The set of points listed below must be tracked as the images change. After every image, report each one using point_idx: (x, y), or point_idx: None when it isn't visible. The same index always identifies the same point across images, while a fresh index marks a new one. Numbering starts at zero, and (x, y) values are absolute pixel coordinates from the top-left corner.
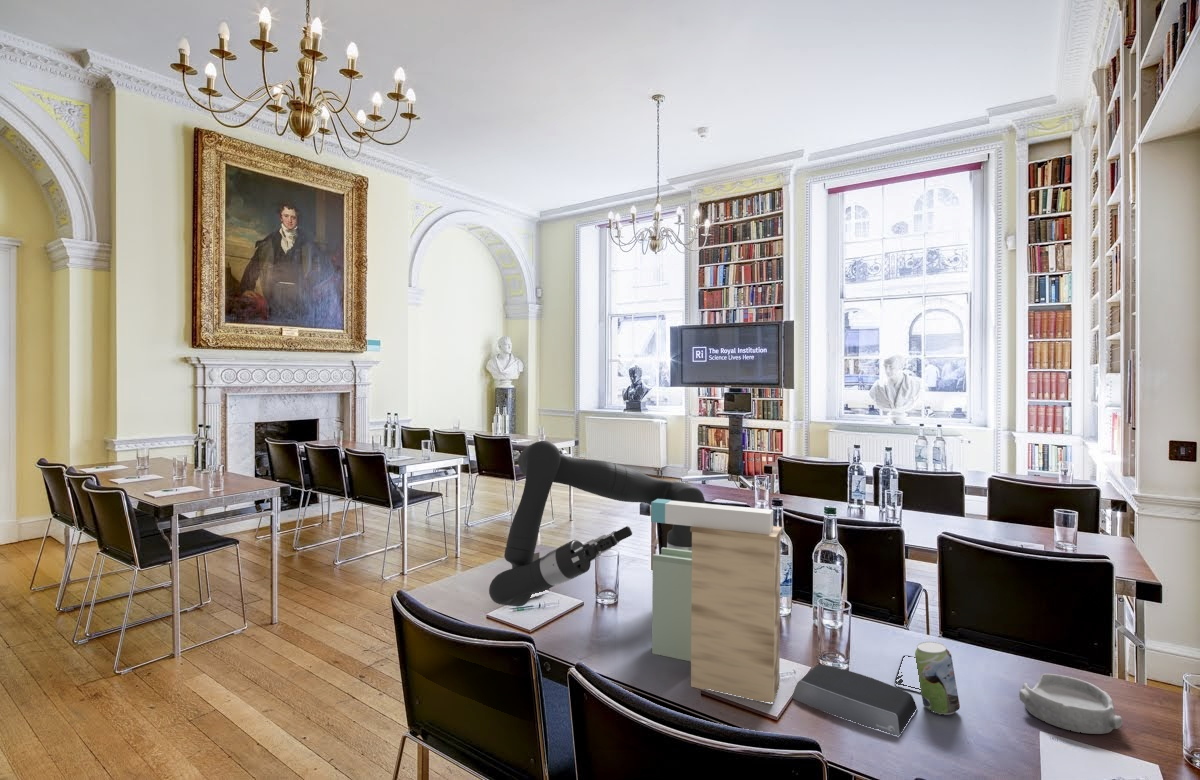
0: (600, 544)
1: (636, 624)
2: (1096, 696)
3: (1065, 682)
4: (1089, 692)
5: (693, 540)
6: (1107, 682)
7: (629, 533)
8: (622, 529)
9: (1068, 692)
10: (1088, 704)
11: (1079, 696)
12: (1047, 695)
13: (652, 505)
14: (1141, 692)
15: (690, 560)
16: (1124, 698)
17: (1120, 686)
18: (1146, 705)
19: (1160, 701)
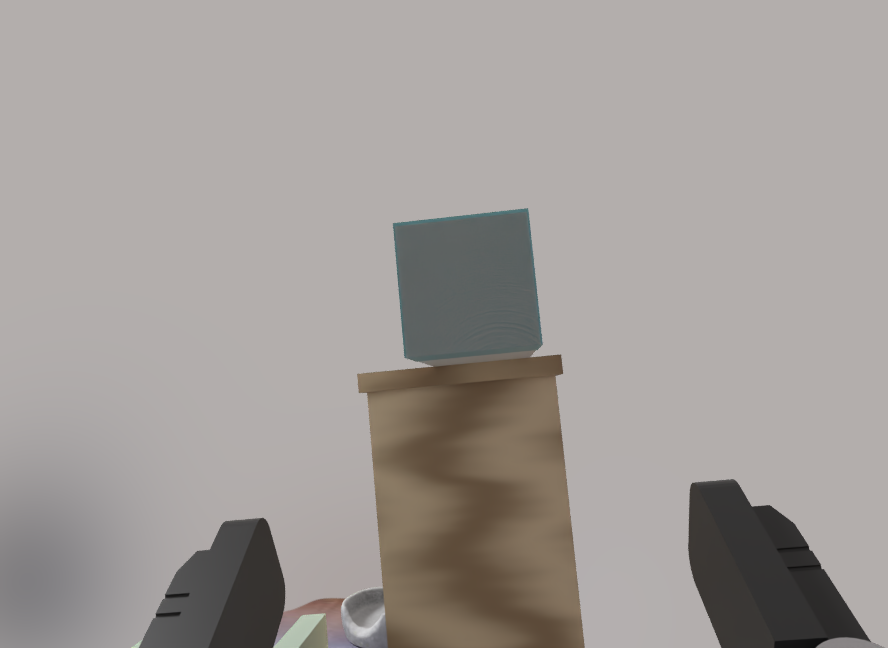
0: (855, 632)
1: None
2: (377, 599)
3: (351, 606)
4: (369, 600)
5: (558, 417)
6: (283, 616)
7: (275, 588)
8: (246, 571)
9: (359, 615)
10: (384, 611)
11: (367, 612)
12: (369, 627)
13: (530, 231)
14: (306, 606)
15: (303, 644)
16: (327, 612)
17: (293, 612)
18: (341, 605)
19: (326, 601)
